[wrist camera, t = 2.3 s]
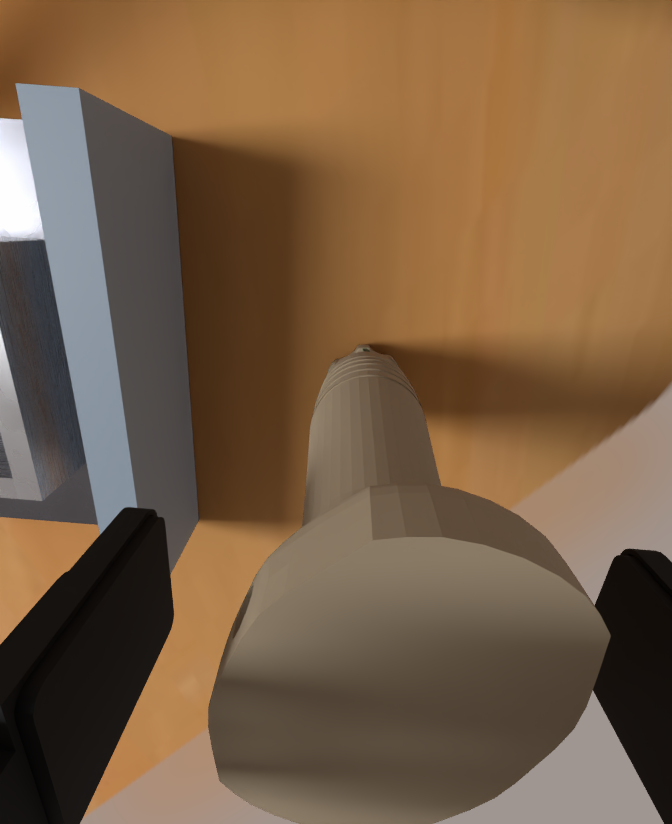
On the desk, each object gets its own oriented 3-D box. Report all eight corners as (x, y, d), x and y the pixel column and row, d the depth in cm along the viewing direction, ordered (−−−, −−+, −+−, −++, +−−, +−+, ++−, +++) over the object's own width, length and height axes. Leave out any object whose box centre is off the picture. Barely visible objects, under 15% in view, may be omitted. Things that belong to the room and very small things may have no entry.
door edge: (129, 132, 16) (15, 83, 11) (171, 135, 16) (78, 88, 11) (169, 518, 23) (113, 607, 18) (198, 520, 23) (151, 610, 18)
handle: (444, 337, 19) (693, 628, 5) (377, 451, 21) (426, 859, 7) (346, 289, 18) (328, 476, 4) (289, 413, 21) (163, 783, 7)
